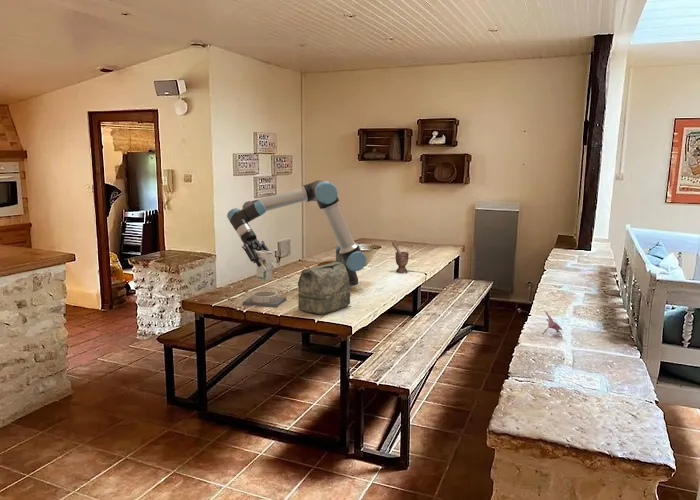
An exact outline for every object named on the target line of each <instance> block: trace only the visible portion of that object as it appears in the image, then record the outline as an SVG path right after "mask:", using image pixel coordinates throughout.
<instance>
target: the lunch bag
mask: <svg viewBox="0 0 700 500" xmlns="http://www.w3.org/2000/svg"><path fill="white" fill-rule="evenodd" d="M297 289H298V293H297V296H298V297H297V298H298V303H297V304H298V306H297V307H298V310H299V311H301V312H307V313H311V314H316V315H320V316H321V315H326V314H329V313H332V312H334V311H335V312H336V311H339V310H340V309H342V308H346V307H348V306H350V305H351V285H350V283H349V277H348V273H347V270H346V267H345V266H344V264H342V263H341V262H336V261H333V262H330V263H327V264H322V265H317V266H315V267H307V268H303V269H302V270H301V272H300V275H299V279H298V282H297Z"/></svg>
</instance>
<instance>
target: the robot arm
mask: <svg viewBox="0 0 700 500" xmlns="http://www.w3.org/2000/svg"><path fill="white" fill-rule="evenodd" d="M302 202H304V203H309V202H316V203H317V205H318V208H319V210H322V211H323V213H324V214H325V217H326V219H327V221H328V223H329V225H330V227H331V230H332V232H333V234H334V237H335V240H336V241H337V244H338V245H337V246H336V247H335V262H341V263H342V264H344V266H345V267H346V270H347V273H348V277H349V283H350V286H355V285H358V284H359V277H358V274H357V272H359V271H361V270H363V269H364V268H365V266H366V264H367V256H366V254H365V253H364V252H363V251H362V250H361V247H360V245H359V243H358V242H355V241H354V239H353V236H352V234H351V231H350V229H349V226H348V224H347V222H346V219H345V217H344V215H343V213H342V211H341V208H340V206H339V203H340V199H339V197H338V189H337V187H336V185H335V184H334V183H332V182H330V181H329V180H328V181H327V180H315V181H312V182H310V183H306V184H304V185H301V186H300V188H295V189H293V190H292V189H291V190H288V191H285V192H284V191H283V192H281V193H278V194H277V193H276V194H273V195H269V196H265V197H262V198H259V199H254V200H251V201H250V200H249V201H246V202H244V203H243V205H242V207H241V209H240V208H238V207H235V208H232V209H230V210H228V212H227V214H226V217H227V219H228V221H229V223H230V225H231V226H232V227H233V230H234V231H235V232H236V234H237V235H238V237H239V238H240V240H241V242H242V243H243V245H242V246H241V248H242V249H243V251H244V252H245V254H246V256H247V257H248V259H249V260H250V262H252V263H253V264H256V267H257V266H258V267H259V268H260V269H261V271H262V272H263V273H264V272H265V271H266V268H265V266H264V264H263V263H262V261H261V260H260V259H259V260H258V256H257V251H261V250H264V251H270V250H269V247H268V246H267V245H266V243H265V241H264V240H262V241H259V240H258V238H257V237H258V236H257V234H256V233H255V232H254V230H253V228H252V227H251V226H250V224H249V223H251V222H252V221H253V220H255V219H257V218H258V217H261V216H263V215H264V214H265V213H266V212H269V211H273V210H276V209H281V208H284V207H288V206H291V205H294V204H298V203H302ZM276 268H277V266H276V265H275V263H274V261H273V260H272V272H273V271H275V269H276Z"/></svg>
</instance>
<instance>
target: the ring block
mask: <svg viewBox="0 0 700 500" xmlns="http://www.w3.org/2000/svg"><path fill="white" fill-rule="evenodd" d="M284 302H287V297H285V296H279V293H278V292H277V291H273V290H258V291H254V292H252V293H251V296H250V297H248V298H247V299H245V300H244V301H243V302H242V305H243V306H254V307H269V308H278V307H279V306H281V305H282V304H283V303H284Z"/></svg>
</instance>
